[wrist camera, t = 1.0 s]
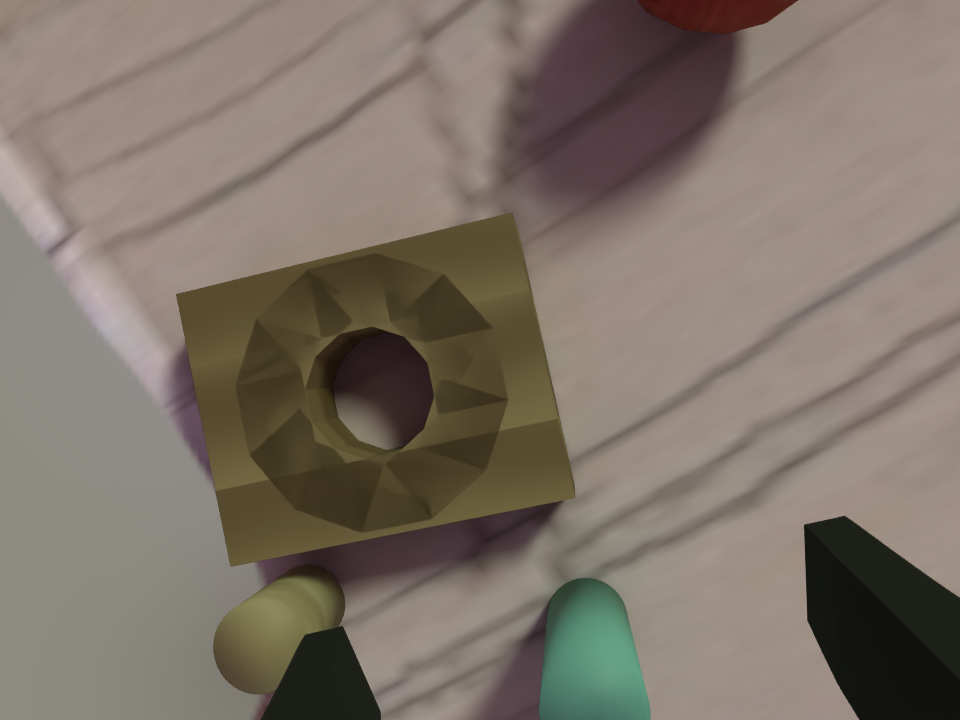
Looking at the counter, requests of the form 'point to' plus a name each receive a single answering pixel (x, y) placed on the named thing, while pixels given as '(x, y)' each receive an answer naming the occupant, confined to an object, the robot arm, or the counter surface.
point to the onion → (715, 13)
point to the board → (312, 410)
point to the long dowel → (590, 657)
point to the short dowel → (276, 627)
